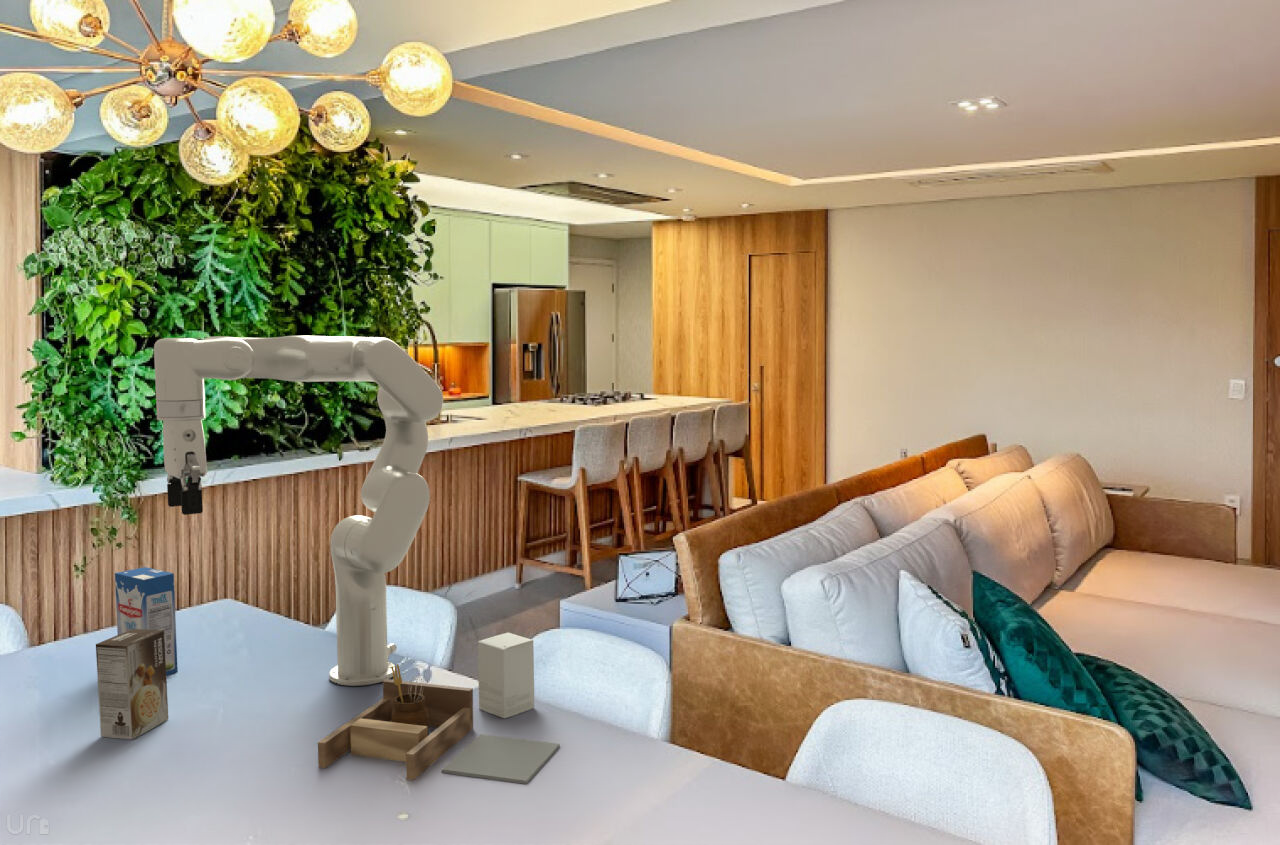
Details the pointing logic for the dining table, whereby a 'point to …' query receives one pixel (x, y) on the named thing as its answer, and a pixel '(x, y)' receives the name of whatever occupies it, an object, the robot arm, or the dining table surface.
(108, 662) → the coffee box
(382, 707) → the walnut u-shaped frame
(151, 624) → the milk carton
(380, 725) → the oak offcut block
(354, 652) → the robot arm
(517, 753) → the slate mat
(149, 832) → the dining table surface
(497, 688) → the supplement box
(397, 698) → the utensil holder
